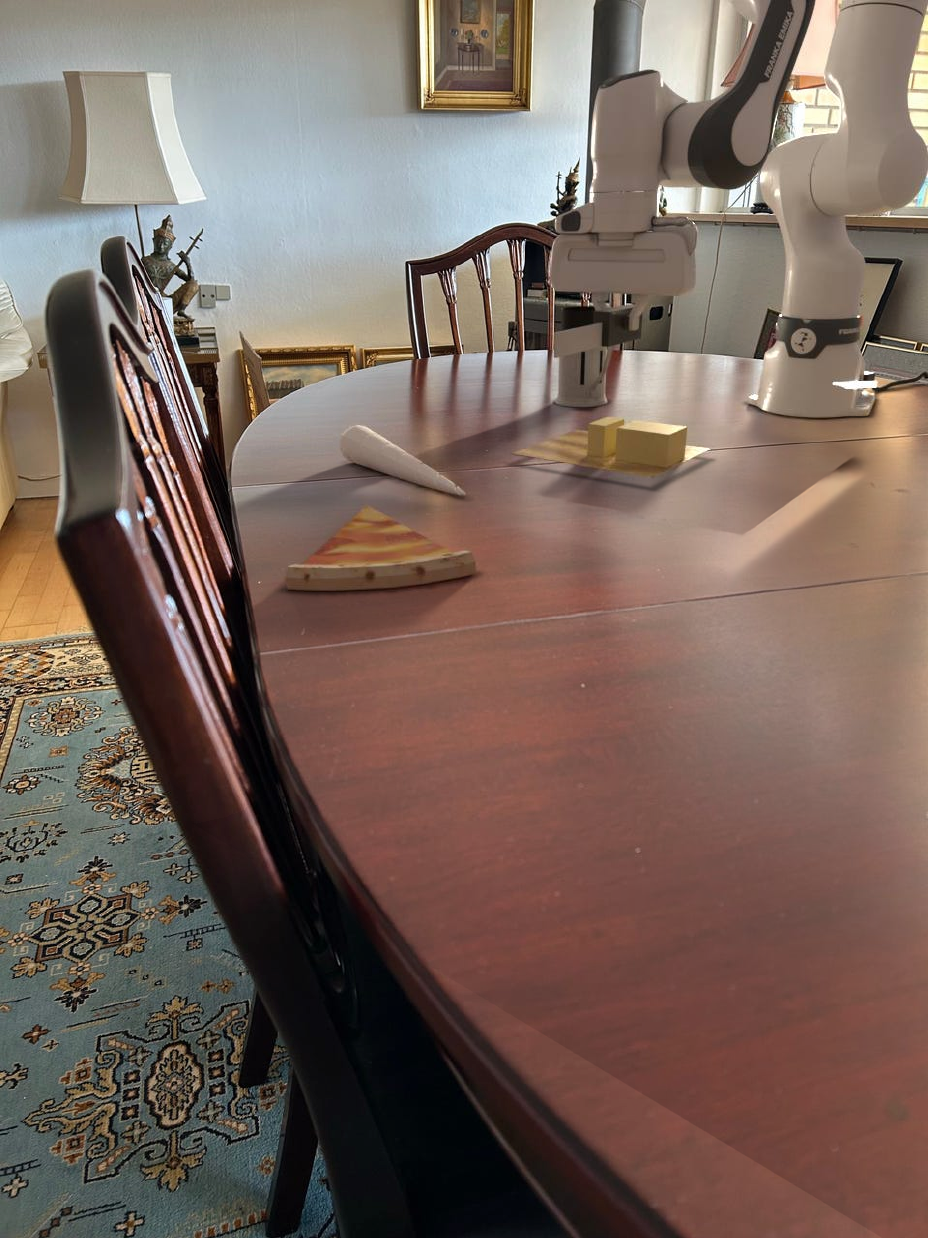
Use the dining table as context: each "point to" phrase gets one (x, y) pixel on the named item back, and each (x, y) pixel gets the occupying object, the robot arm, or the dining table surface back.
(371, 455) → the unicorn horn
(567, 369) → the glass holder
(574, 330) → the knife
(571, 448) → the board
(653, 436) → the butter
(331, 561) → the pizza slice
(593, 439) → the block
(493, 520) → the dining table surface
